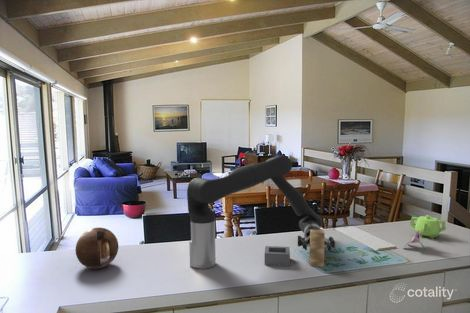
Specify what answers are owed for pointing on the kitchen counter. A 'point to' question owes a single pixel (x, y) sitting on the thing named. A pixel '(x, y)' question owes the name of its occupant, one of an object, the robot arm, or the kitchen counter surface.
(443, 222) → the teapot
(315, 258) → the tan tall cylinder
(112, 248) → the wooden sphere
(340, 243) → the kitchen counter surface
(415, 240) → the lily
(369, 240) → the baseboard molding
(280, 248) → the endcap
